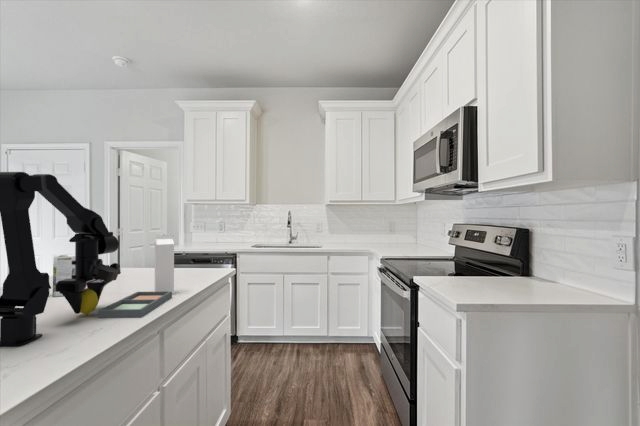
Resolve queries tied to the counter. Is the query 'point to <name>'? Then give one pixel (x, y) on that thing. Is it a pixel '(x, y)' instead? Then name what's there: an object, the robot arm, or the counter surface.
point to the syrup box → (62, 270)
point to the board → (135, 305)
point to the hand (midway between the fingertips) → (86, 309)
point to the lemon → (89, 302)
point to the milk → (164, 263)
